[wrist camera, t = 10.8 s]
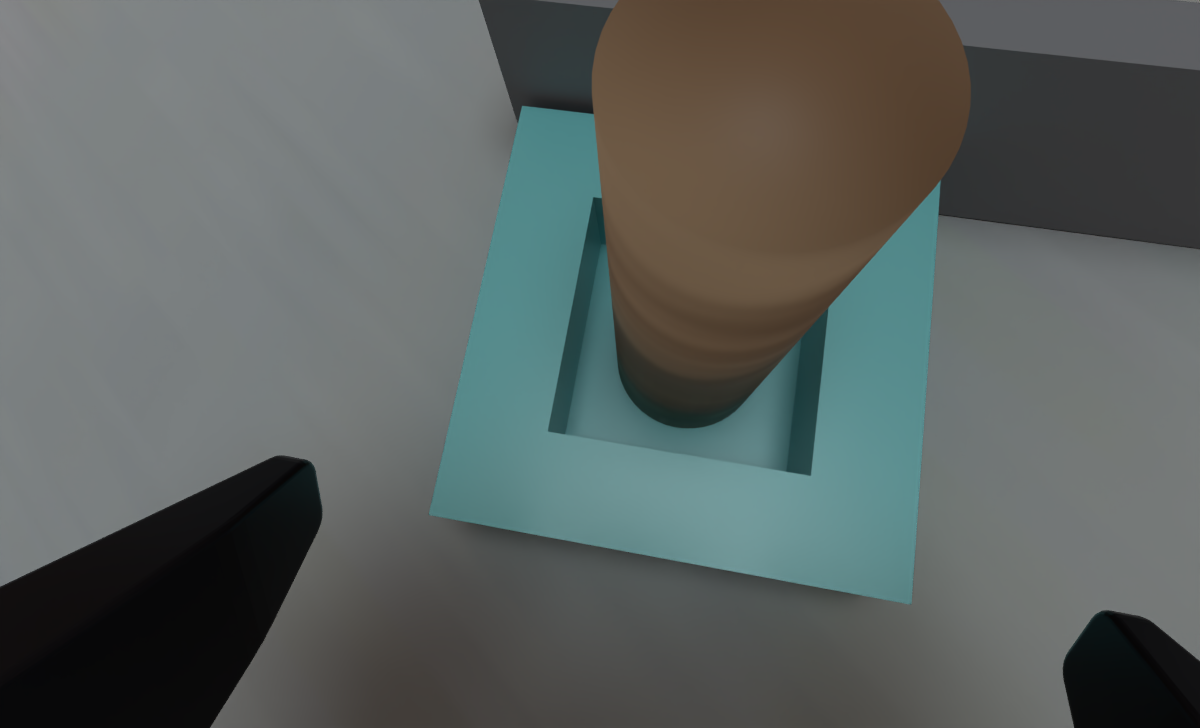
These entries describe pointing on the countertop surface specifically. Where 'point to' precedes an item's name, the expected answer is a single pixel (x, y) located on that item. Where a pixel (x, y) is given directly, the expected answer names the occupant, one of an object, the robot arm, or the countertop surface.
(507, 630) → the countertop surface
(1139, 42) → the backstop wall
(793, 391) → the socket block
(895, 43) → the dowel
